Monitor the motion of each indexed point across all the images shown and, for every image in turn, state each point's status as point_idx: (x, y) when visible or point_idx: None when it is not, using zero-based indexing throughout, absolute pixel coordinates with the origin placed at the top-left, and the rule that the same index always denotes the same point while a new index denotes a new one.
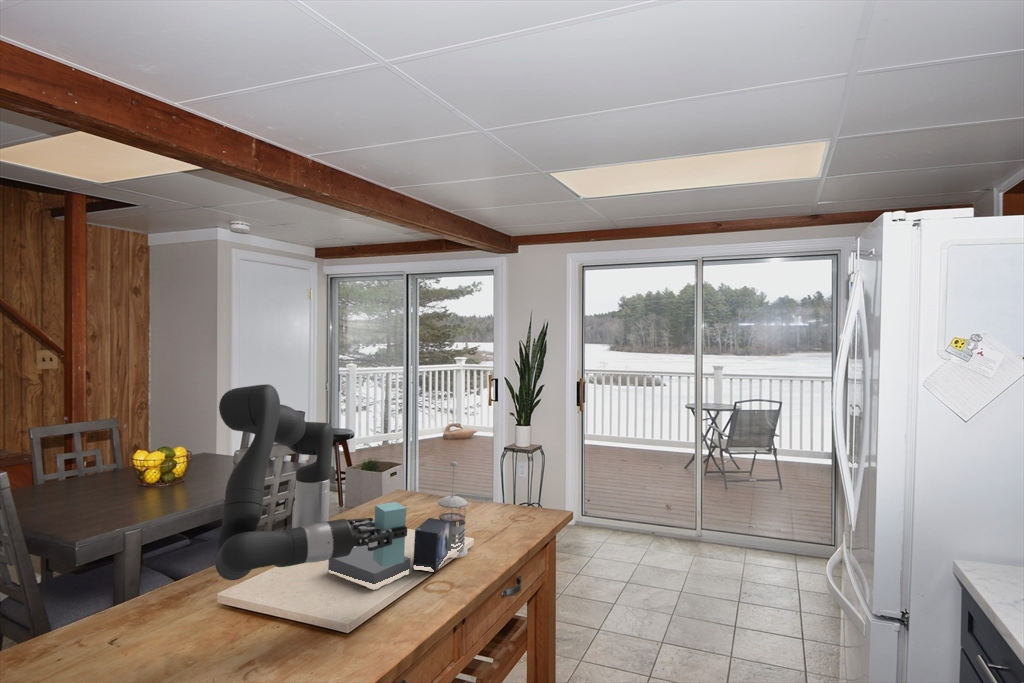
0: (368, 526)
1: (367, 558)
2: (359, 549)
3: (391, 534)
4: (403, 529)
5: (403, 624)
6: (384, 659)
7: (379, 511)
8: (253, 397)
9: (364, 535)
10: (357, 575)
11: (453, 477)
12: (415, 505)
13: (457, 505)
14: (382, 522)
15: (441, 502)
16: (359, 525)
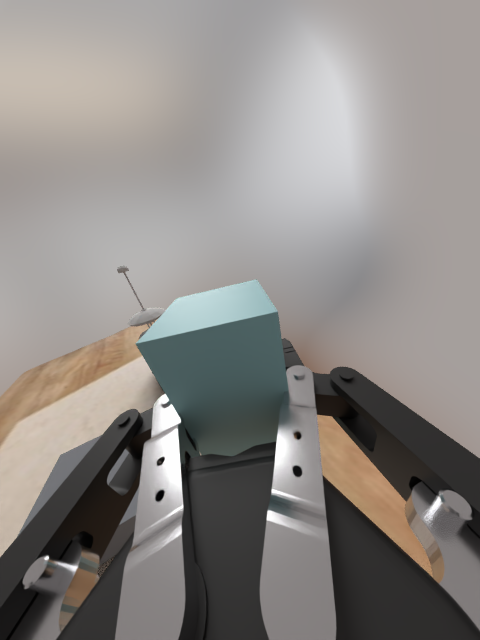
0: (202, 463)
1: (110, 475)
2: (63, 478)
3: (356, 375)
4: (284, 342)
5: (362, 489)
6: None
7: (206, 347)
8: None
9: (453, 619)
10: (132, 530)
11: (132, 287)
12: (62, 367)
13: (161, 312)
14: (263, 375)
15: (138, 321)
16: (188, 570)
